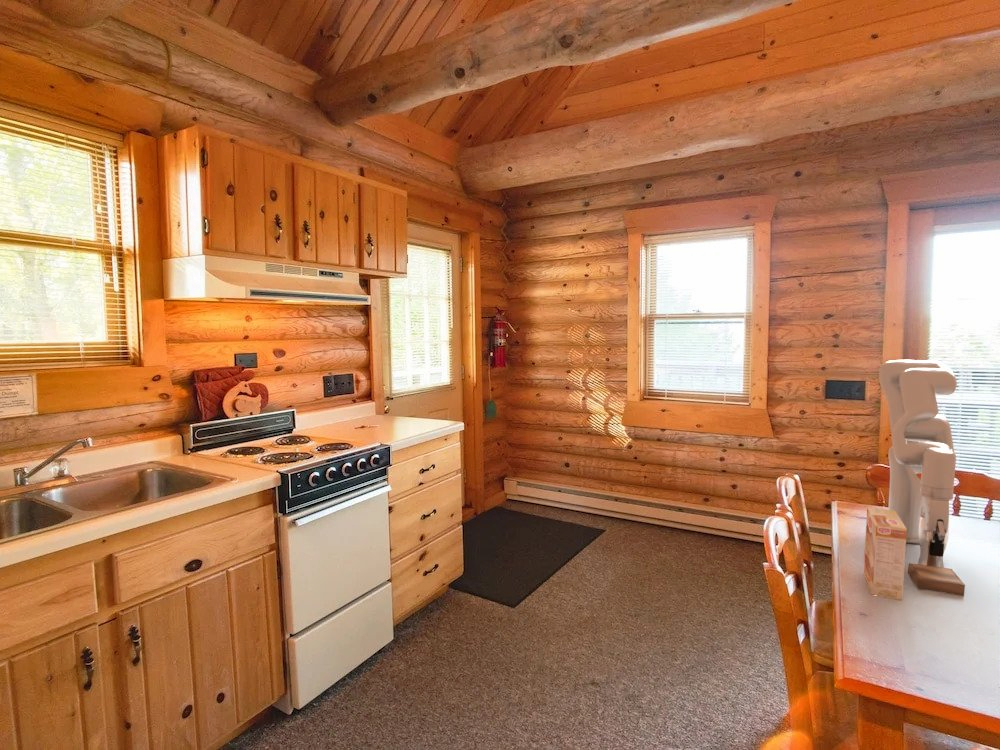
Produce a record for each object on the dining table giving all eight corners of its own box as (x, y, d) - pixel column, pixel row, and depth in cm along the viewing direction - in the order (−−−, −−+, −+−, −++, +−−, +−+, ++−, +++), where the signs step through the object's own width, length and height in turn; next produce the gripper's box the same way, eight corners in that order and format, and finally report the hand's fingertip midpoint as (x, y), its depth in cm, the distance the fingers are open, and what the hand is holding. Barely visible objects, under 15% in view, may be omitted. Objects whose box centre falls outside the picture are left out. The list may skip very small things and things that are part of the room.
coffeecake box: (862, 571, 161) (866, 506, 159) (892, 576, 158) (896, 510, 155) (870, 595, 147) (874, 524, 145) (903, 601, 144) (908, 528, 142)
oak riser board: (907, 573, 159) (908, 562, 159) (951, 579, 155) (951, 568, 155) (918, 588, 150) (918, 577, 150) (964, 595, 146) (965, 584, 146)
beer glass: (951, 573, 159) (955, 523, 157) (923, 571, 160) (927, 521, 158) (937, 562, 165) (941, 514, 163) (911, 560, 167) (914, 512, 165)
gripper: (912, 481, 169) (908, 537, 171) (929, 499, 153) (925, 560, 156) (942, 483, 166) (938, 540, 168) (963, 502, 150) (958, 565, 153)
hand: (931, 549), depth 162 cm, fingers closed on beer glass, 6 cm apart
